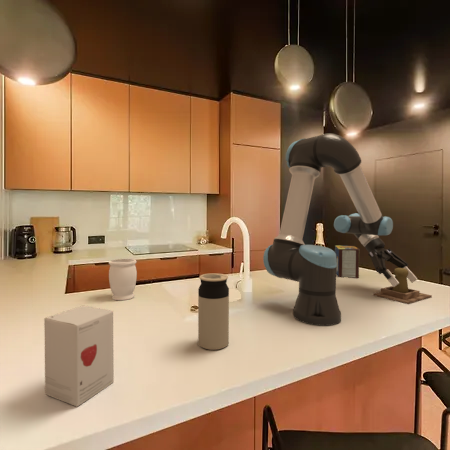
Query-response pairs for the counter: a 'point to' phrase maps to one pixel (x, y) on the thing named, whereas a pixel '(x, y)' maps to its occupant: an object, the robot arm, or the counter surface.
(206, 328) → the travel mug
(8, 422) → the counter surface
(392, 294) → the walnut holder
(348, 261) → the protein box
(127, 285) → the jar
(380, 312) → the counter surface
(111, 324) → the supplement box
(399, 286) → the cork
